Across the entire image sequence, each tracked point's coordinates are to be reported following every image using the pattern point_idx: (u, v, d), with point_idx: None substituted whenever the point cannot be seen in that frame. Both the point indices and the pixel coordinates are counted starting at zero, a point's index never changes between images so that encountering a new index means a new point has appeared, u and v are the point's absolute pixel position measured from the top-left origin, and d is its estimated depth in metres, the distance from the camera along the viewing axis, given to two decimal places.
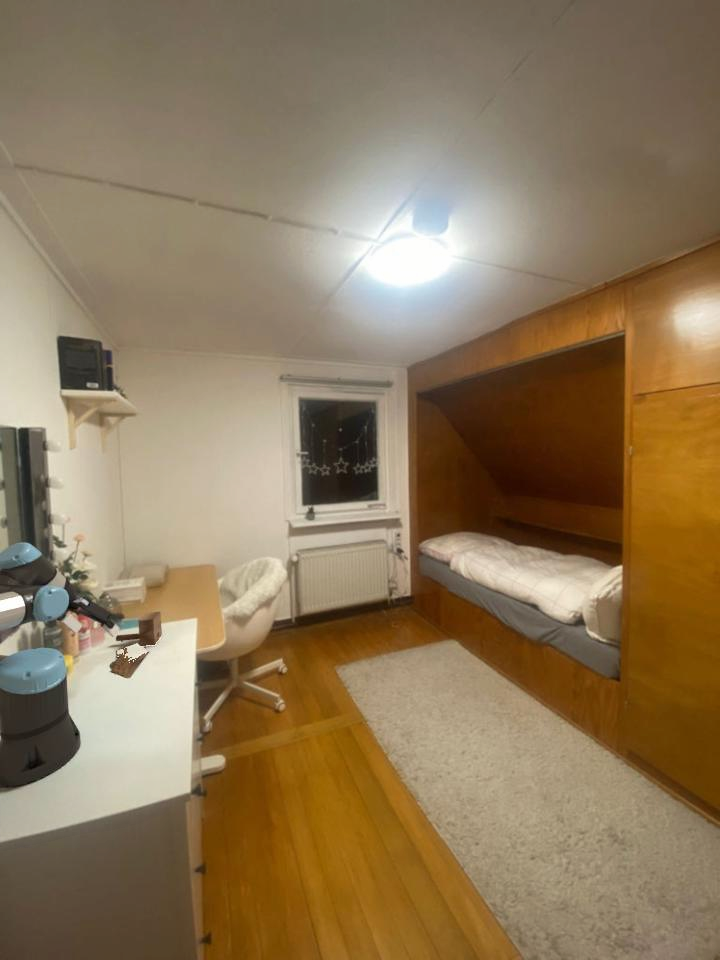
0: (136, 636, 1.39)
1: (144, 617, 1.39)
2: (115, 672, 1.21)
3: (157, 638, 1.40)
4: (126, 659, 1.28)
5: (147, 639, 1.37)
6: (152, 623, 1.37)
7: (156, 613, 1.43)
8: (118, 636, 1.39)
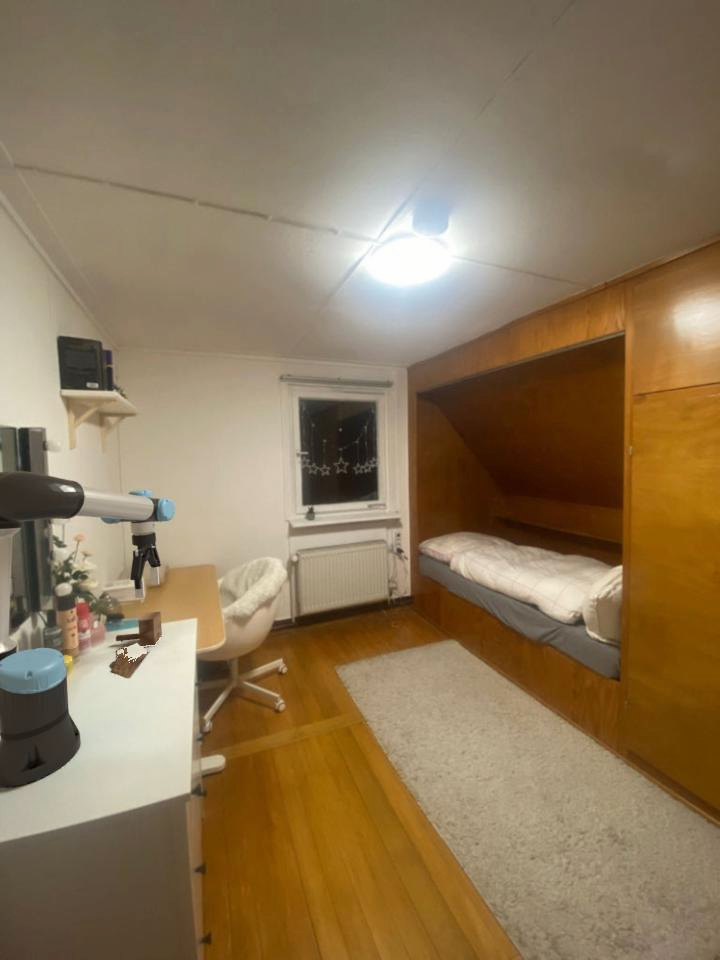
0: (136, 636, 1.39)
1: (144, 617, 1.39)
2: (115, 672, 1.21)
3: (157, 638, 1.40)
4: (126, 659, 1.28)
5: (147, 639, 1.37)
6: (152, 623, 1.37)
7: (156, 613, 1.43)
8: (118, 636, 1.39)
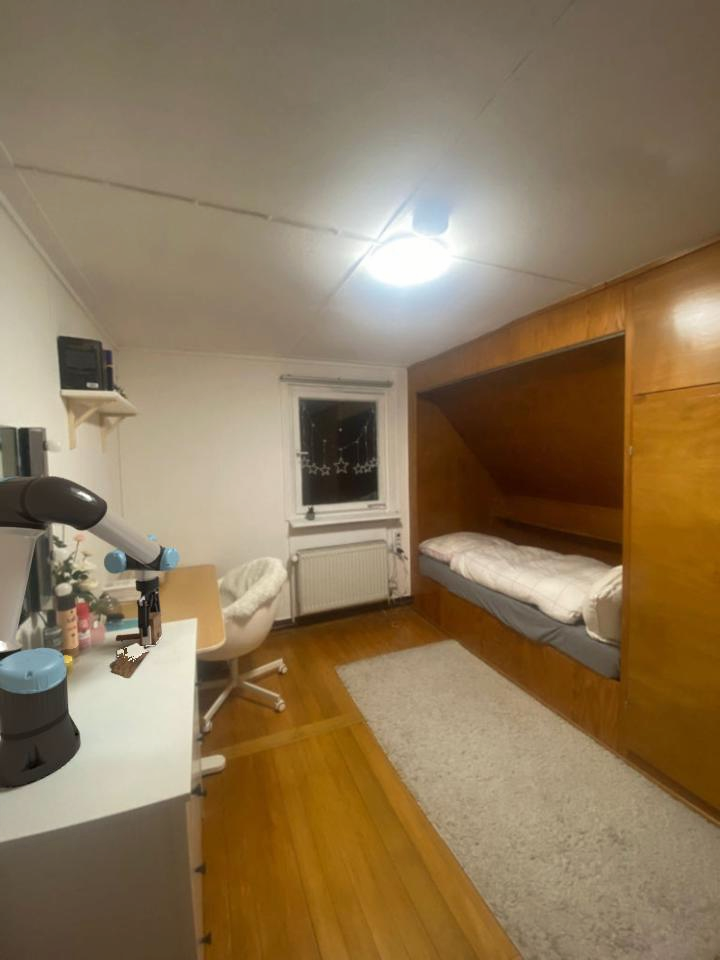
0: (136, 636, 1.39)
1: None
2: (115, 672, 1.21)
3: (157, 638, 1.40)
4: (126, 659, 1.28)
5: None
6: (153, 623, 1.37)
7: (156, 613, 1.43)
8: (118, 636, 1.39)
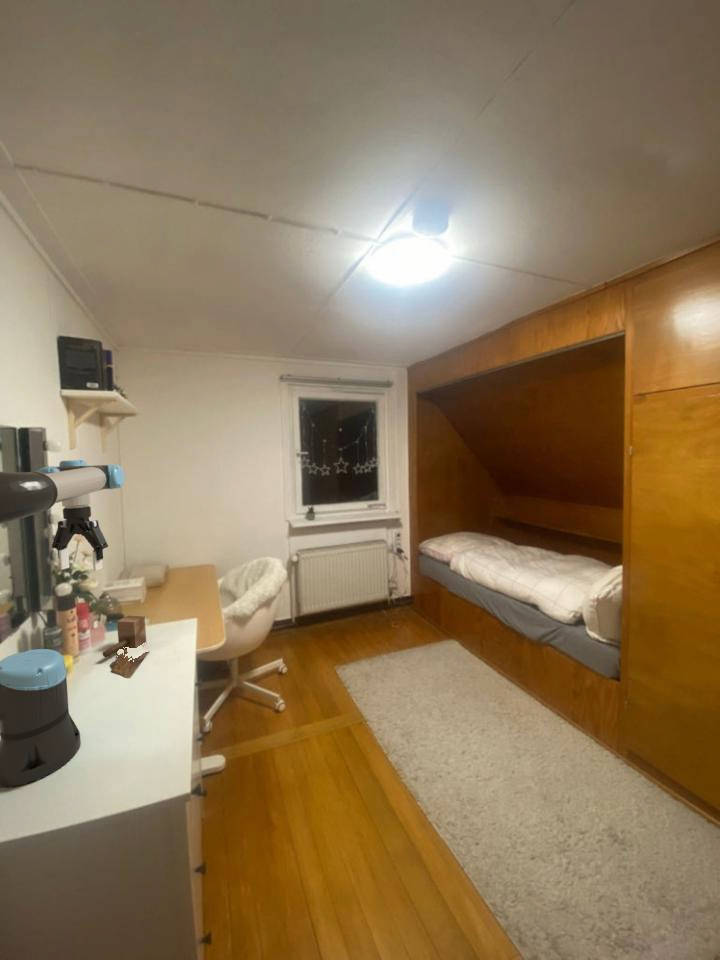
0: (124, 643, 1.34)
1: (130, 620, 1.37)
2: (115, 672, 1.21)
3: None
4: (126, 659, 1.28)
5: (140, 639, 1.38)
6: (144, 620, 1.40)
7: (130, 616, 1.40)
8: (108, 651, 1.28)
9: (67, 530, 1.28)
